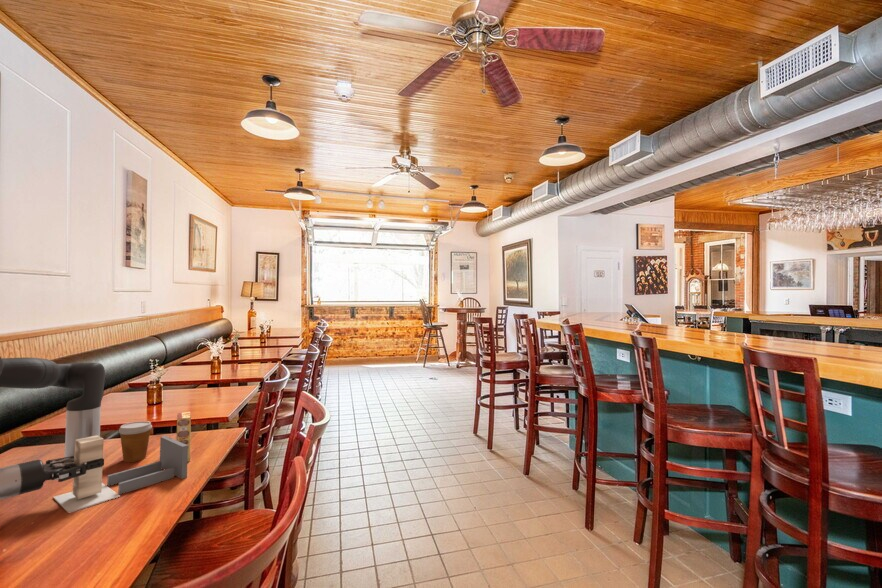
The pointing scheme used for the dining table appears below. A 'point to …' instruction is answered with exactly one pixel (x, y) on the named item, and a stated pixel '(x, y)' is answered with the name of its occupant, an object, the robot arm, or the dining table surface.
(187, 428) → the candy box
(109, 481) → the lane rack
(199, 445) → the dining table surface
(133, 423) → the disposable coffee cup
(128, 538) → the dining table surface
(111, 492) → the mat
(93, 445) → the ash block
